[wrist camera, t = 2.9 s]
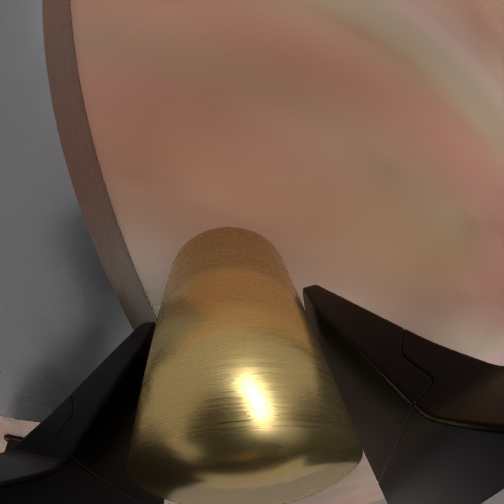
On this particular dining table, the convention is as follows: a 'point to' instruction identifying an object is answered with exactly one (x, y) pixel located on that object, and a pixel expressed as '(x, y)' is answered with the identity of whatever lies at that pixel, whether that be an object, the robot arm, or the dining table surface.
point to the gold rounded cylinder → (237, 384)
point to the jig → (54, 222)
